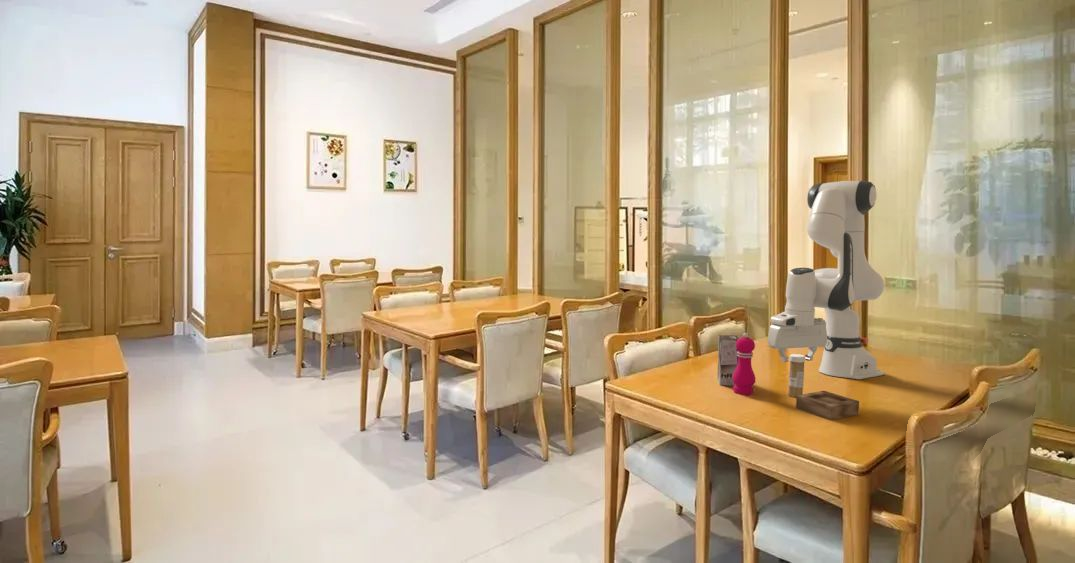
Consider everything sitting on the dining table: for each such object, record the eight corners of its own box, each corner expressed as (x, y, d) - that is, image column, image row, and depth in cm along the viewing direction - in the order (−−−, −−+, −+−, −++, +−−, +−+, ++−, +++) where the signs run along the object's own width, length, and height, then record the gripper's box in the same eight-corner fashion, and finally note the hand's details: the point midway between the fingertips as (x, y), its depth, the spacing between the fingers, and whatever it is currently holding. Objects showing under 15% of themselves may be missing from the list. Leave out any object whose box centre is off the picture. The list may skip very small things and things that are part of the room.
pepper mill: (728, 389, 202) (730, 330, 200) (749, 388, 203) (751, 330, 201) (737, 395, 195) (739, 334, 193) (758, 395, 196) (761, 334, 194)
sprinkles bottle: (785, 394, 197) (787, 353, 196) (797, 393, 198) (799, 353, 196) (793, 398, 192) (795, 357, 191) (806, 397, 193) (808, 356, 192)
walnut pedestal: (823, 403, 187) (823, 390, 187) (858, 414, 177) (859, 401, 176) (795, 408, 182) (796, 395, 182) (830, 420, 171) (831, 406, 171)
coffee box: (738, 386, 206) (740, 340, 204) (719, 385, 207) (721, 339, 205) (735, 379, 215) (737, 335, 213) (716, 378, 216) (718, 334, 214)
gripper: (818, 316, 198) (816, 357, 200) (766, 317, 193) (763, 360, 194) (833, 319, 192) (830, 361, 194) (779, 321, 187) (776, 364, 188)
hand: (796, 361), depth 194 cm, fingers open, 8 cm apart
